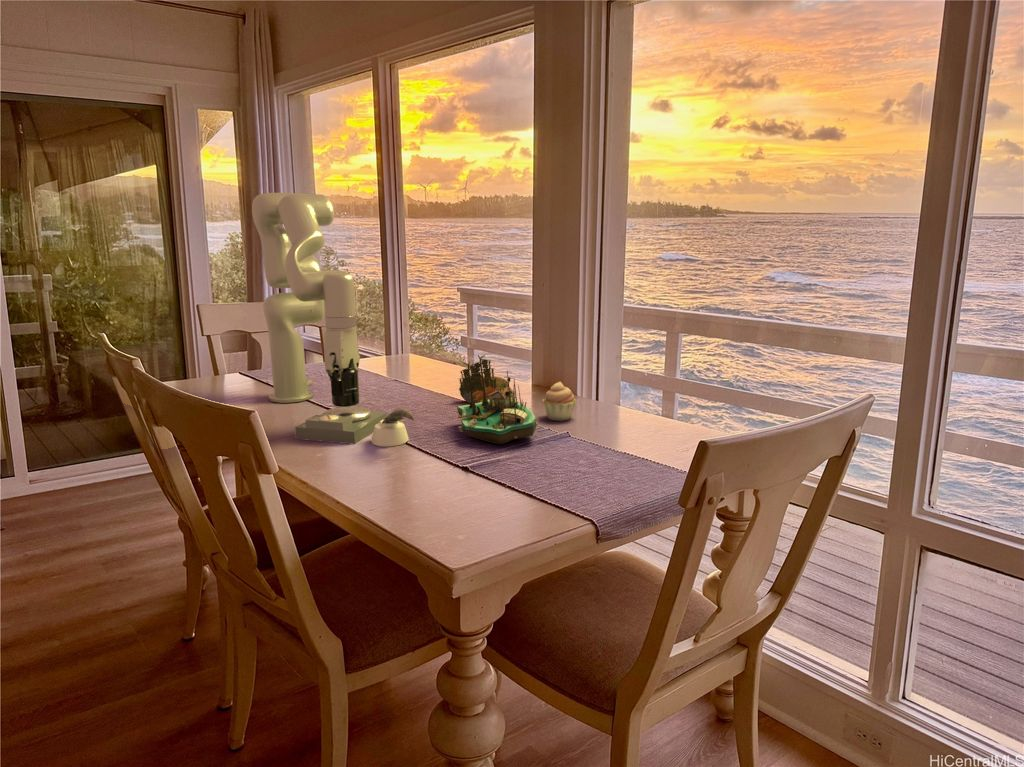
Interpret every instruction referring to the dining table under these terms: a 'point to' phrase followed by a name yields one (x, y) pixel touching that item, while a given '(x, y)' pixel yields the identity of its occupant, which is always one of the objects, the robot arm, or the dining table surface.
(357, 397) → the supplement bottle
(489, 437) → the diorama
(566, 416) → the cupcake
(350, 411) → the scale pan
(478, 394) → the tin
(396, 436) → the inkwell
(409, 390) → the dining table surface
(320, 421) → the scale
